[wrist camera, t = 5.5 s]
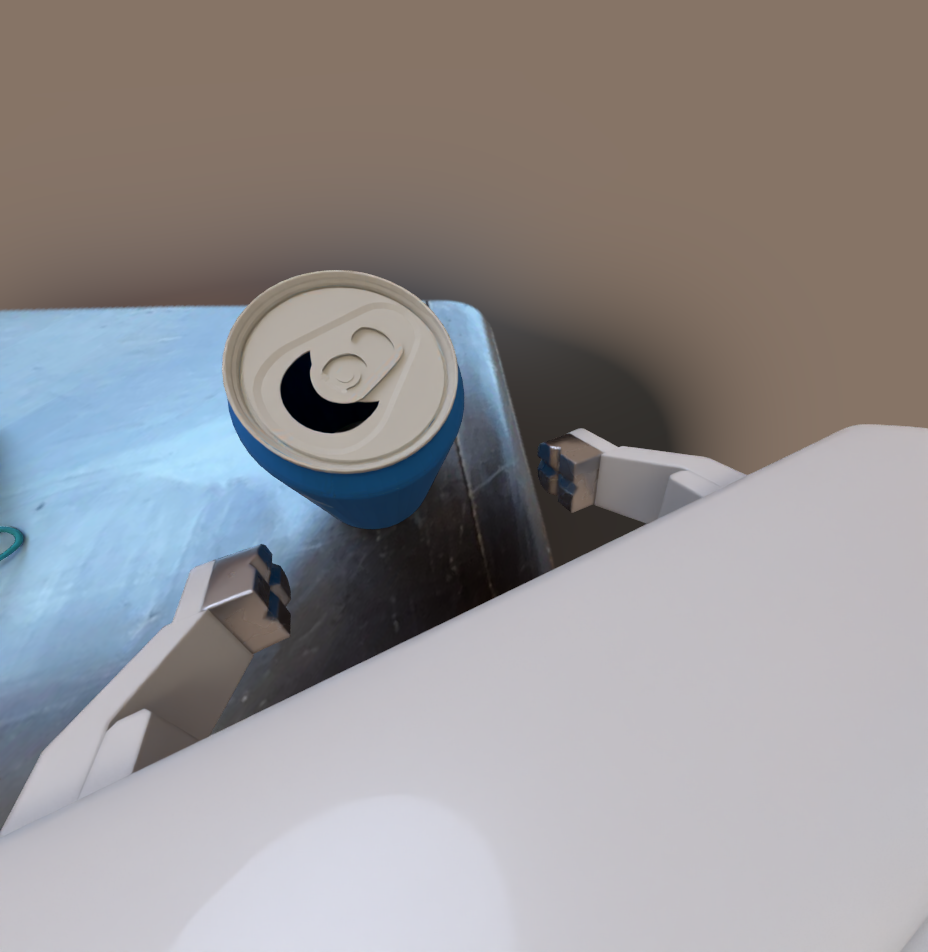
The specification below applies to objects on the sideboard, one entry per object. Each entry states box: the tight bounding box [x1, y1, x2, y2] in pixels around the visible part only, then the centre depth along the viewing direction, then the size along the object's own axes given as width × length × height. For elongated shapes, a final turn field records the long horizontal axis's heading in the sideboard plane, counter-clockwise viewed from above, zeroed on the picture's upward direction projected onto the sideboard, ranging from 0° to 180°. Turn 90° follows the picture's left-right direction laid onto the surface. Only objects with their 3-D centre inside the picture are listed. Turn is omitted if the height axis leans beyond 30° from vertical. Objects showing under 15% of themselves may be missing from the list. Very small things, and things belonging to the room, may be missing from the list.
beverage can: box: [222, 270, 464, 529], centre depth 14 cm, size 6×6×12 cm
